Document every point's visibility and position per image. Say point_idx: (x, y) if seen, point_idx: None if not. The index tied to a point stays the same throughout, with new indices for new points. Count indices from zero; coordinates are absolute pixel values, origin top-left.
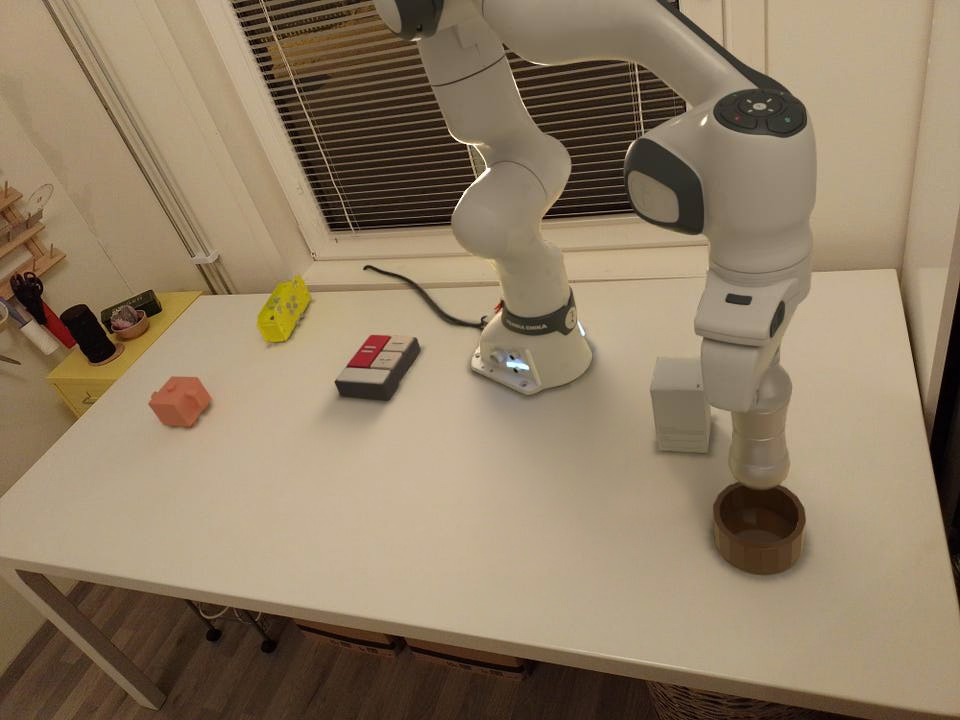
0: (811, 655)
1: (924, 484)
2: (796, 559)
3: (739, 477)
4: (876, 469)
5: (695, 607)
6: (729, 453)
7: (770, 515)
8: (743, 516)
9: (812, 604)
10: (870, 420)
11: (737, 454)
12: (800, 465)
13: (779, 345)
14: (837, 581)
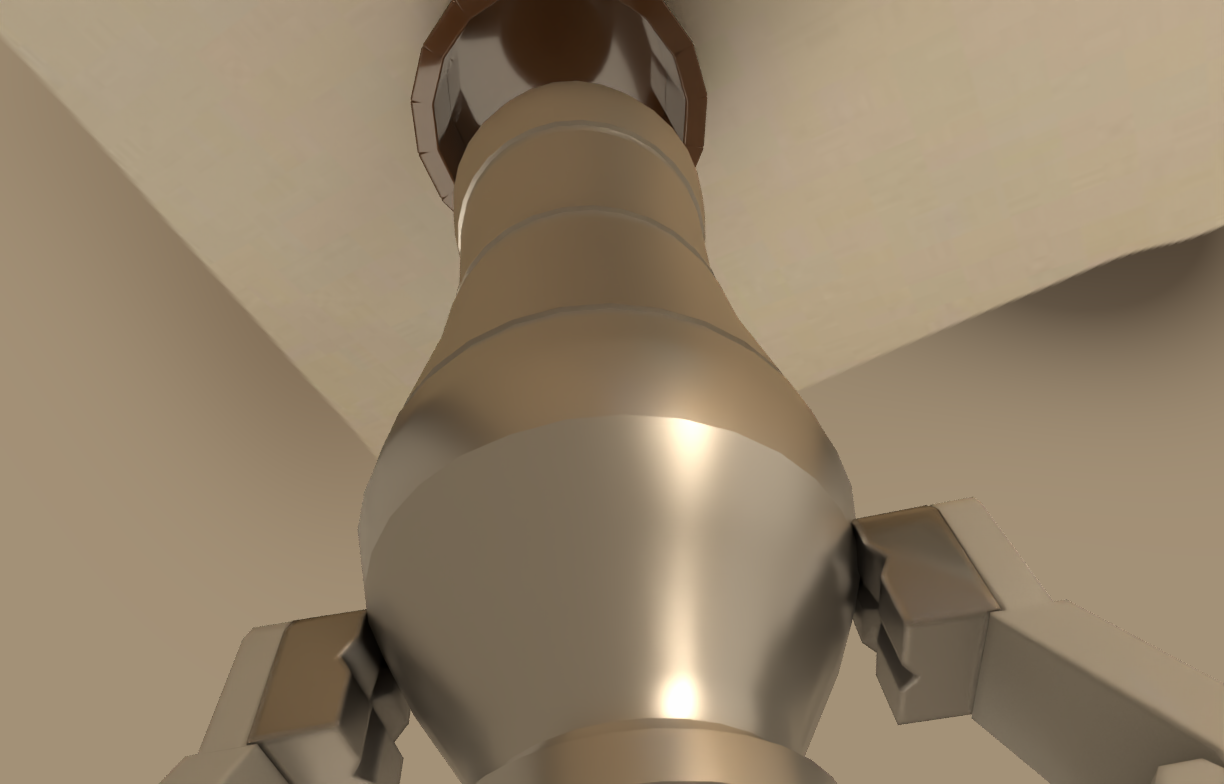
0: (351, 335)
1: (912, 337)
2: None
3: (453, 194)
4: (929, 239)
5: (237, 55)
6: (503, 130)
7: (648, 86)
8: (601, 15)
9: None
10: (1117, 156)
11: (465, 220)
12: (882, 62)
13: (1002, 738)
14: None
